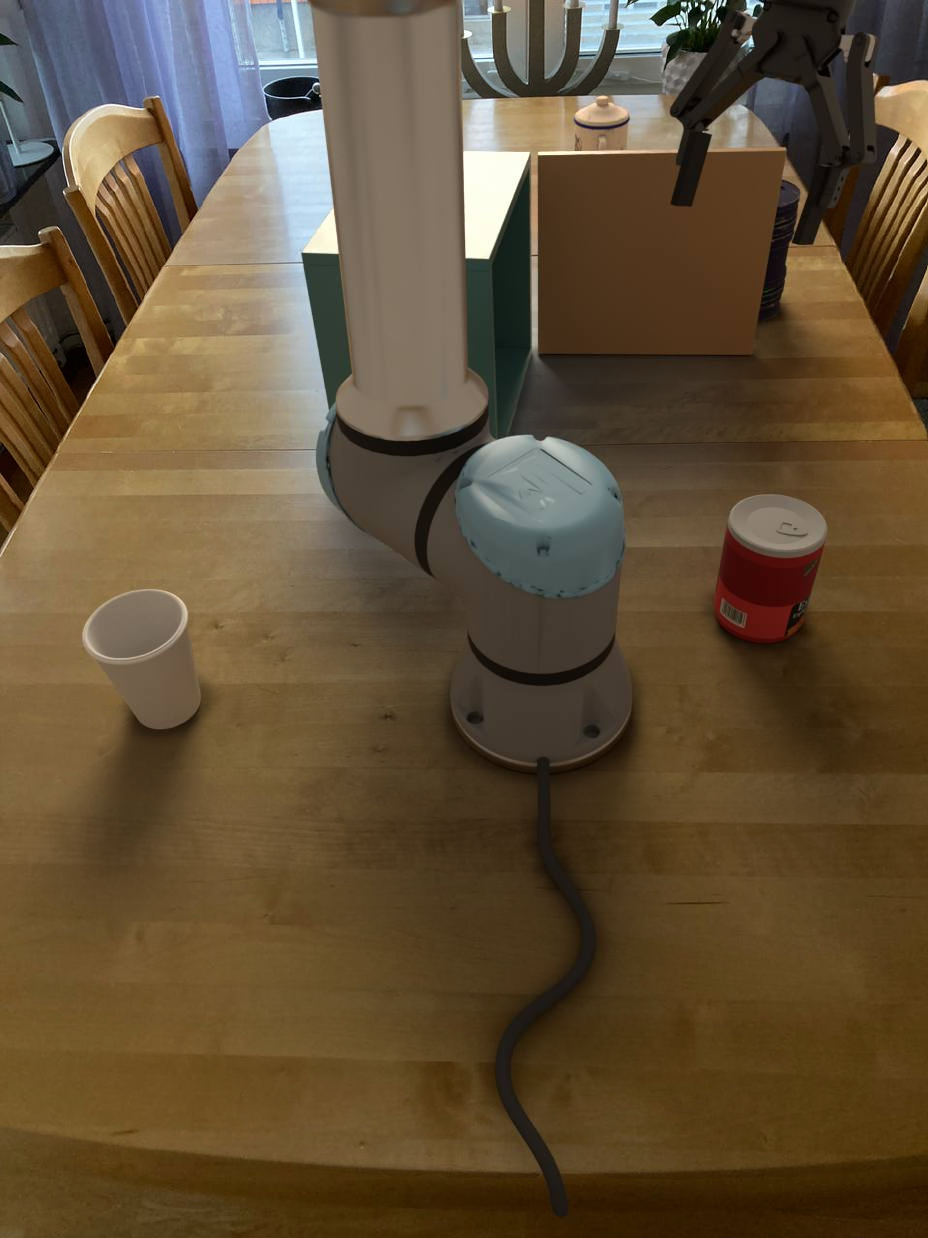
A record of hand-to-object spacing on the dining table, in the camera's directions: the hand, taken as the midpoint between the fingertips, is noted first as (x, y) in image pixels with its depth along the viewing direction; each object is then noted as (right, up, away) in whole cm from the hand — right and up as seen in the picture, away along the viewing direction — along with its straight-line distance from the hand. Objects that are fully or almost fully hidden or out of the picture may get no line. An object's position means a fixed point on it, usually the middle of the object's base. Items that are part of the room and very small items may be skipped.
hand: (738, 224), depth 91 cm
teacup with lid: (-3, +38, +72) cm, 81 cm away
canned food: (+1, -37, -3) cm, 37 cm away
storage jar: (+11, +4, +38) cm, 40 cm away
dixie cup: (-52, -45, -7) cm, 69 cm away
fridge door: (-3, -2, +32) cm, 33 cm away
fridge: (-29, -12, +25) cm, 39 cm away
